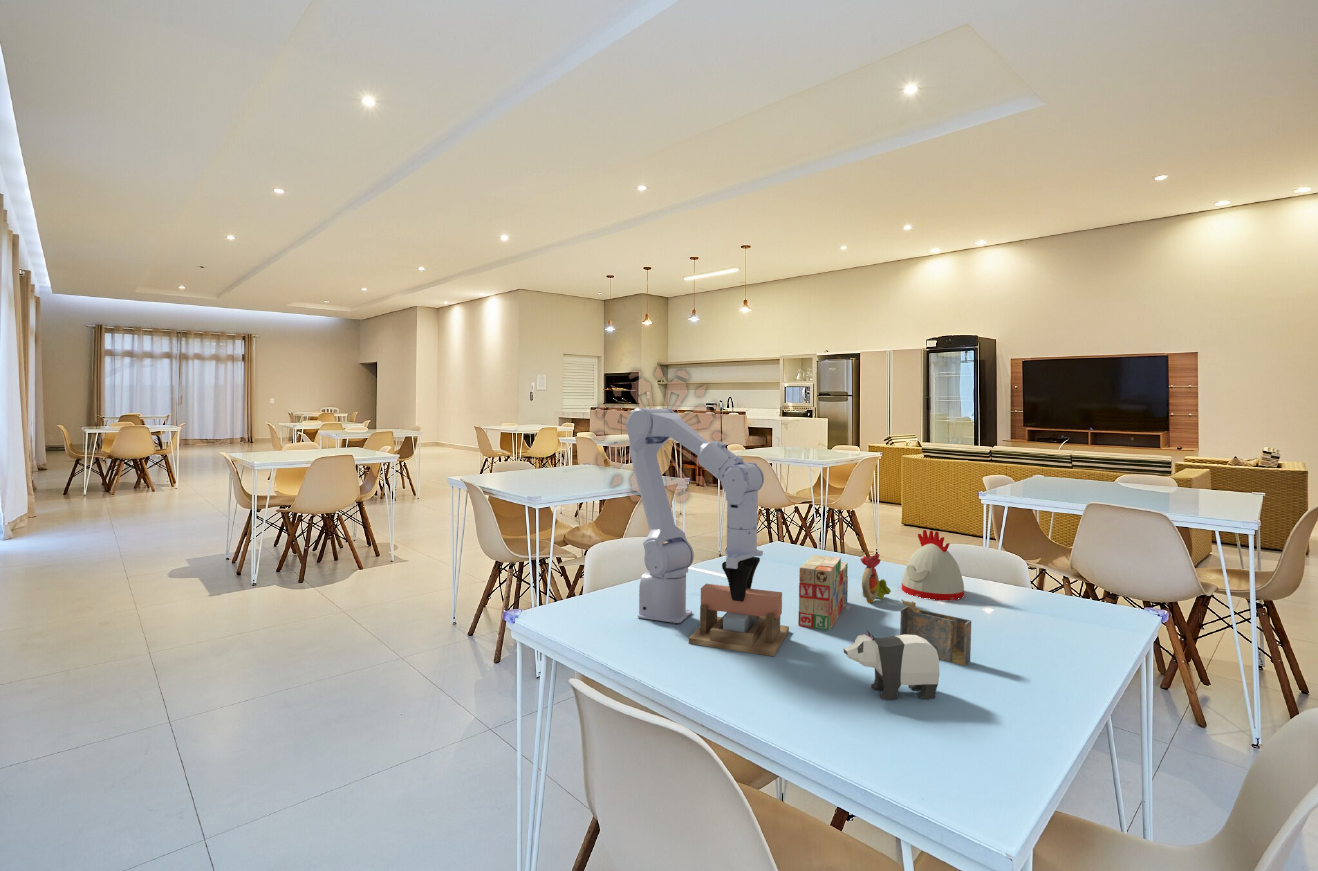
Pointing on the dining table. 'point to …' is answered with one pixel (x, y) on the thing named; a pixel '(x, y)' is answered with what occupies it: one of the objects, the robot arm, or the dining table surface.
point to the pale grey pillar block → (738, 622)
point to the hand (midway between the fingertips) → (740, 597)
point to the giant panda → (898, 663)
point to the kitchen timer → (933, 571)
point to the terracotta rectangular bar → (752, 604)
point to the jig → (740, 634)
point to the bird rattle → (873, 580)
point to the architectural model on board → (939, 632)
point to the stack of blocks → (822, 591)
